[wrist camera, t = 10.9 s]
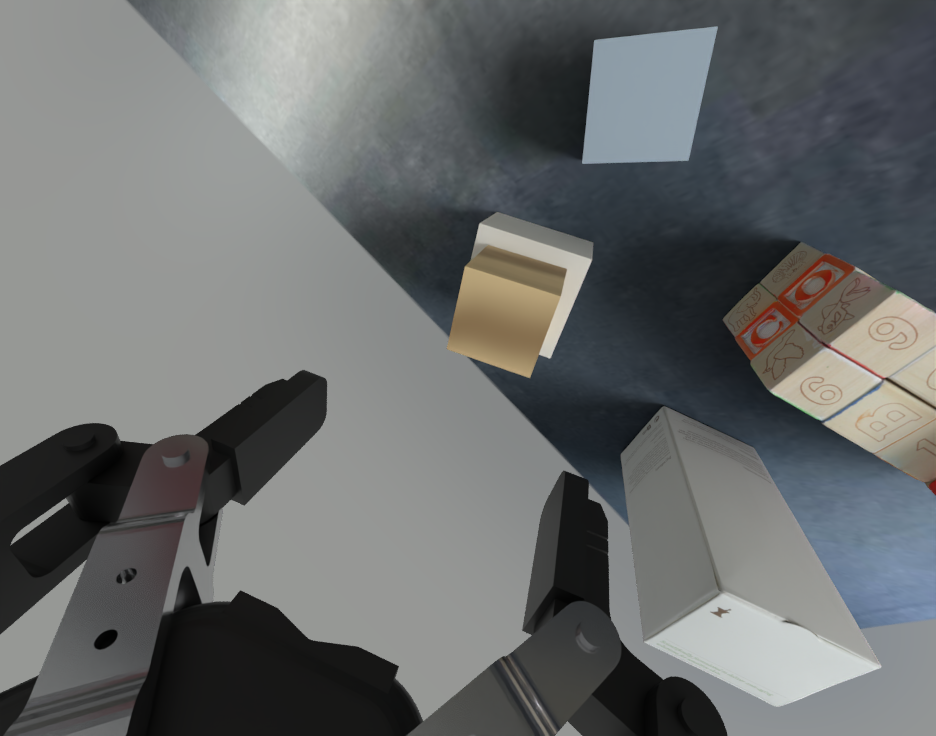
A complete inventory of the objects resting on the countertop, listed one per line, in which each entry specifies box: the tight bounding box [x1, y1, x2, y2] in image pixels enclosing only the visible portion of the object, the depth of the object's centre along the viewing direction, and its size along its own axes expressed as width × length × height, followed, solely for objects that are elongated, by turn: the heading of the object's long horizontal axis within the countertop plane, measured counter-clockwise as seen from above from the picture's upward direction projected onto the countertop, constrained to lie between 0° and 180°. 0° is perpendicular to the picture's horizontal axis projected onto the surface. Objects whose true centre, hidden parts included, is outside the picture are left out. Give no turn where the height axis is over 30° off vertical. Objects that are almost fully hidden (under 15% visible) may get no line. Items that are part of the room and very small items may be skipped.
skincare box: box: [621, 406, 881, 707], centre depth 25 cm, size 8×7×16 cm
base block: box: [470, 212, 593, 358], centre depth 27 cm, size 7×7×5 cm
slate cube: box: [582, 26, 718, 164], centre depth 20 cm, size 5×5×5 cm
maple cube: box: [447, 245, 567, 378], centre depth 22 cm, size 5×5×5 cm
